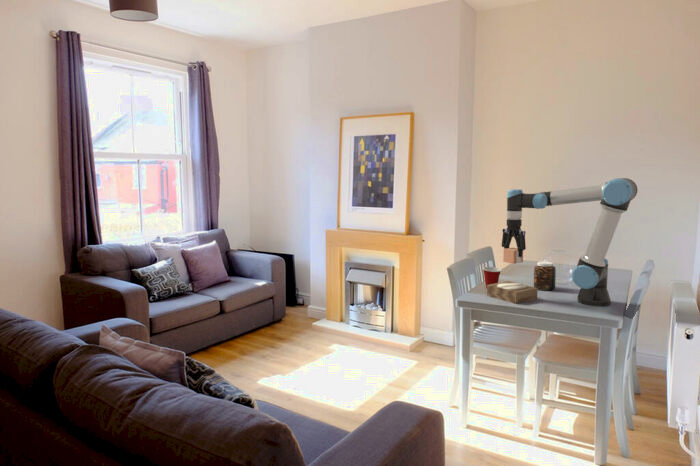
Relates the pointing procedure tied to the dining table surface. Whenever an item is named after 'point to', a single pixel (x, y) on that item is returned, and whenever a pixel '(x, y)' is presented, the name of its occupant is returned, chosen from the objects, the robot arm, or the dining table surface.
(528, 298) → the block
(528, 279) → the dining table surface
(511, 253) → the terracotta cube
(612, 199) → the robot arm
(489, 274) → the plastic cup
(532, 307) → the dining table surface
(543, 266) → the jar
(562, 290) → the dining table surface
